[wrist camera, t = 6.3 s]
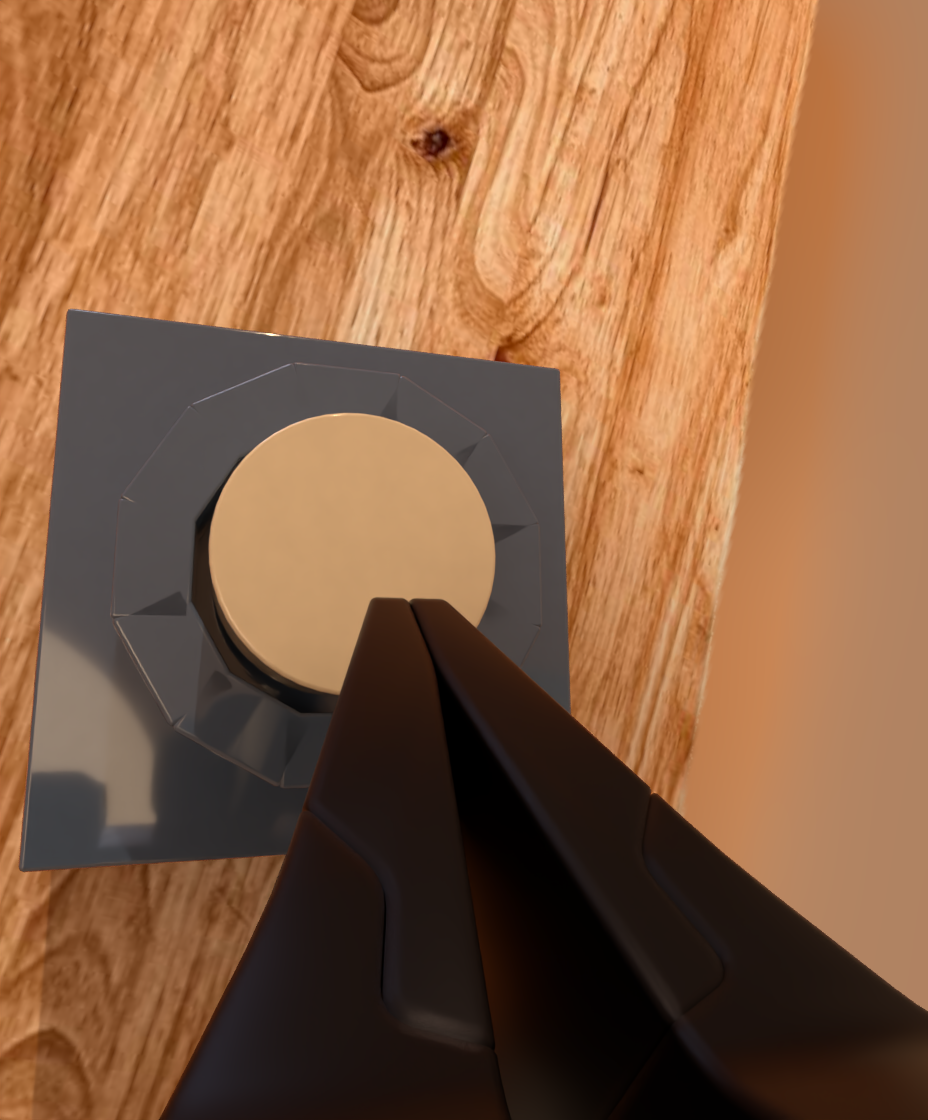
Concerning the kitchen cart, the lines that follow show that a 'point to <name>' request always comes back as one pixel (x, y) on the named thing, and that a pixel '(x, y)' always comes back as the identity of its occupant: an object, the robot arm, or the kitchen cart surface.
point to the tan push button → (341, 541)
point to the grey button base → (185, 587)
